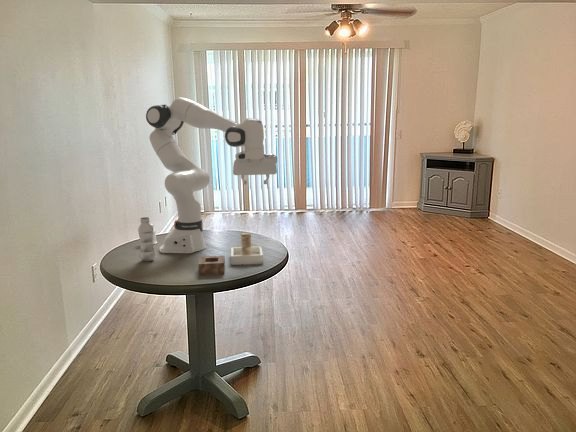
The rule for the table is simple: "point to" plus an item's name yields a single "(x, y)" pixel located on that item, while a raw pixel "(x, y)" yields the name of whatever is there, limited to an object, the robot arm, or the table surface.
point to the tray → (246, 256)
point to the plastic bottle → (146, 240)
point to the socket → (211, 265)
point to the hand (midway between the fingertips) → (255, 184)
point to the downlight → (154, 235)
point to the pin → (246, 243)
